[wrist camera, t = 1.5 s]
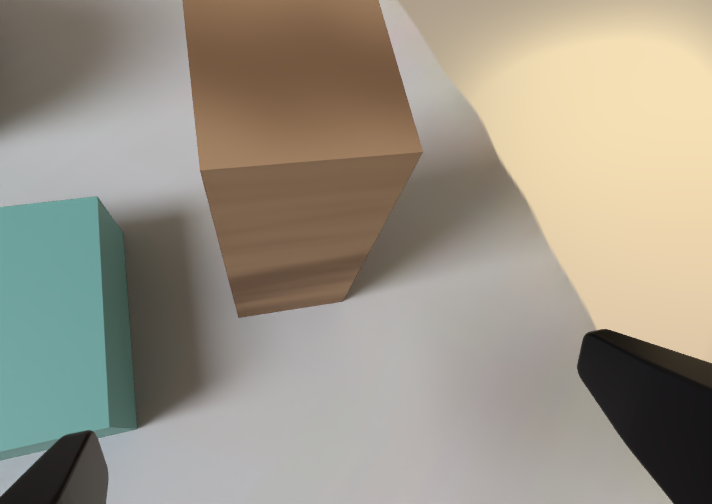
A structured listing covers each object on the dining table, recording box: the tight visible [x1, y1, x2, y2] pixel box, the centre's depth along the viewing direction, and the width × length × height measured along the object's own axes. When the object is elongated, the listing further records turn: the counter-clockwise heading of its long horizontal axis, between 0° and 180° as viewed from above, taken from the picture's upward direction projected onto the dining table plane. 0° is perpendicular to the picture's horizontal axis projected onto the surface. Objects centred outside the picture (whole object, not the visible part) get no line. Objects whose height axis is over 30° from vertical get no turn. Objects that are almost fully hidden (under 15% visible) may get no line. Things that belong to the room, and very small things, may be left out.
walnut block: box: [183, 0, 423, 318], centre depth 17 cm, size 5×5×13 cm
